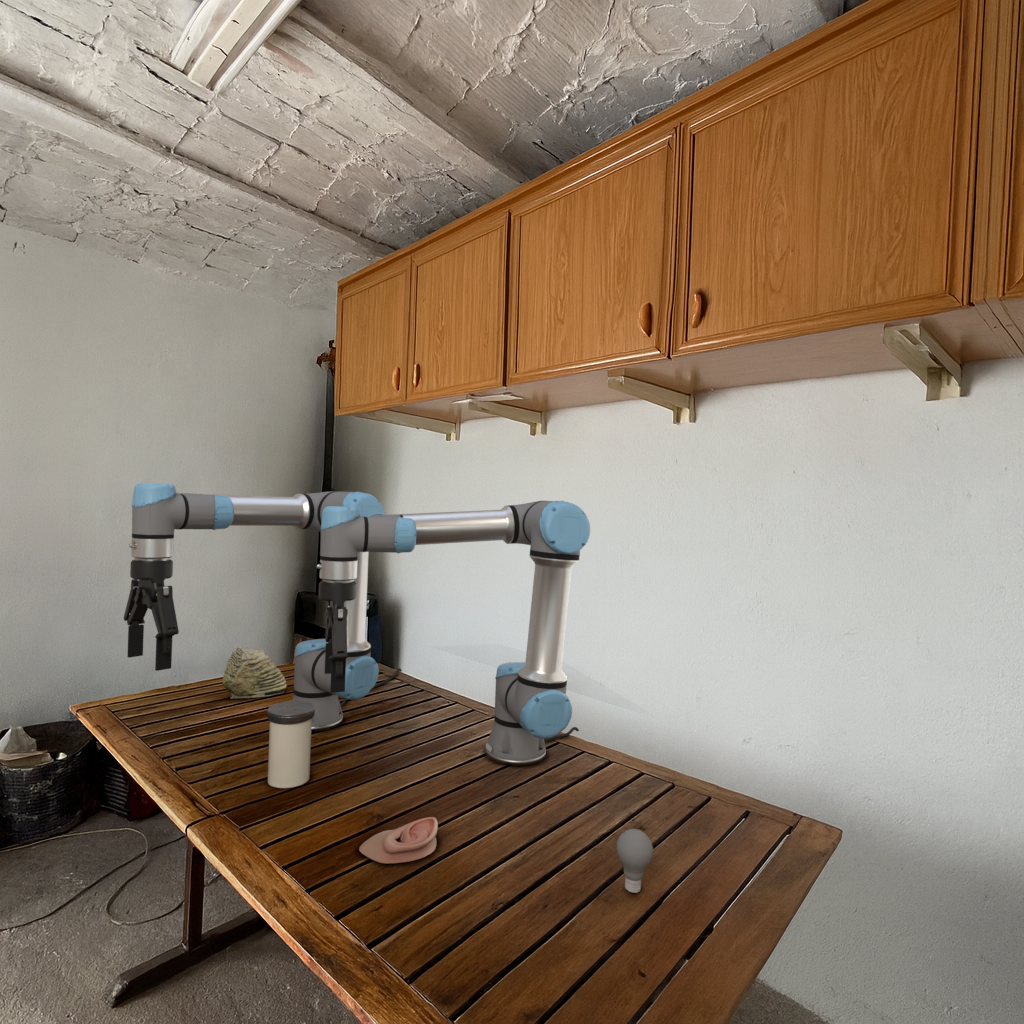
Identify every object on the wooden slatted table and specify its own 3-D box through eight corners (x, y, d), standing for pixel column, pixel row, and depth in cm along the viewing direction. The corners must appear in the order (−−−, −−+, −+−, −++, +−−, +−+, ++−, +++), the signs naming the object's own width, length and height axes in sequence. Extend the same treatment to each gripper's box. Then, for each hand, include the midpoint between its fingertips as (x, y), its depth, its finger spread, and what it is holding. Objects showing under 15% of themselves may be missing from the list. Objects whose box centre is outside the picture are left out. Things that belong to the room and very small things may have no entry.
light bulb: (610, 879, 108) (613, 822, 108) (644, 879, 109) (647, 822, 109) (619, 902, 102) (622, 840, 102) (655, 901, 103) (658, 840, 103)
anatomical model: (352, 836, 111) (378, 805, 123) (351, 858, 111) (377, 826, 123) (423, 847, 109) (444, 815, 120) (422, 870, 109) (443, 836, 120)
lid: (323, 713, 144) (324, 705, 144) (293, 727, 135) (293, 718, 135) (289, 706, 148) (289, 698, 147) (257, 719, 138) (257, 710, 138)
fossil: (218, 695, 195) (220, 647, 195) (278, 685, 208) (279, 640, 207) (228, 703, 189) (230, 653, 188) (289, 692, 201) (290, 645, 201)
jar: (317, 775, 144) (320, 707, 143) (290, 791, 136) (293, 719, 135) (286, 767, 147) (289, 701, 147) (258, 782, 139) (261, 712, 139)
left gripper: (108, 554, 134) (104, 654, 134) (159, 565, 118) (155, 678, 119) (146, 552, 140) (143, 648, 140) (199, 563, 124) (195, 671, 124)
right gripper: (315, 573, 142) (311, 667, 142) (324, 589, 119) (320, 701, 119) (349, 572, 144) (345, 665, 145) (364, 588, 121) (360, 699, 122)
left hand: (148, 662), depth 129 cm, fingers open, 13 cm apart
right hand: (334, 682), depth 132 cm, fingers open, 13 cm apart
